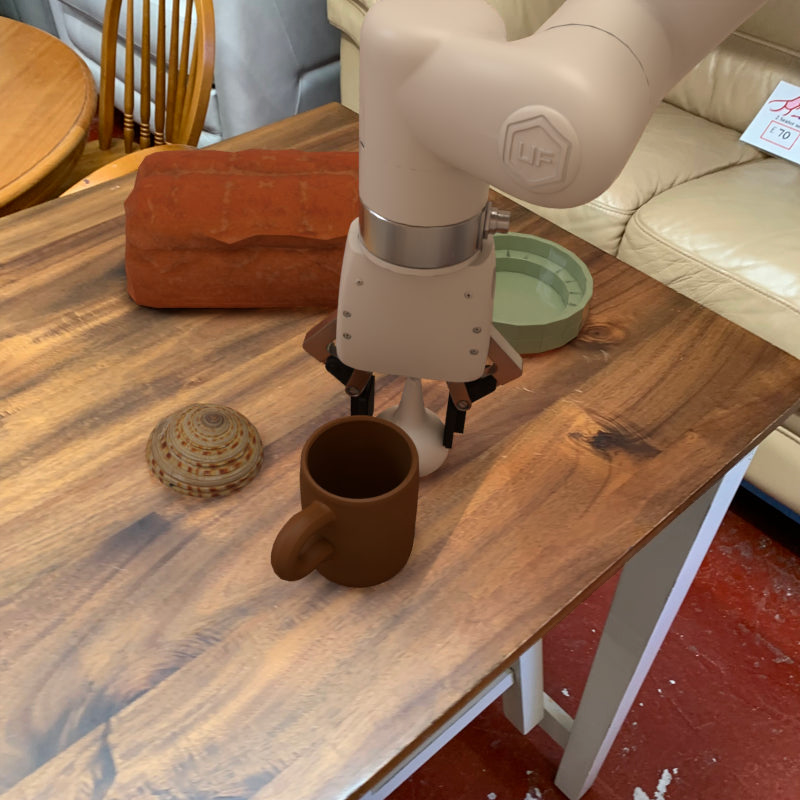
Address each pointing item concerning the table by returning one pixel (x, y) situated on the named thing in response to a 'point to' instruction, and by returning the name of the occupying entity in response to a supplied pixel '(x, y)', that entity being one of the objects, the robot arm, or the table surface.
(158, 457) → the seashell
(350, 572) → the mug
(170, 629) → the table surface
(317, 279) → the bread
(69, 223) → the table surface
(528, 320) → the bowl
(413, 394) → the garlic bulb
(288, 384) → the table surface
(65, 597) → the table surface
